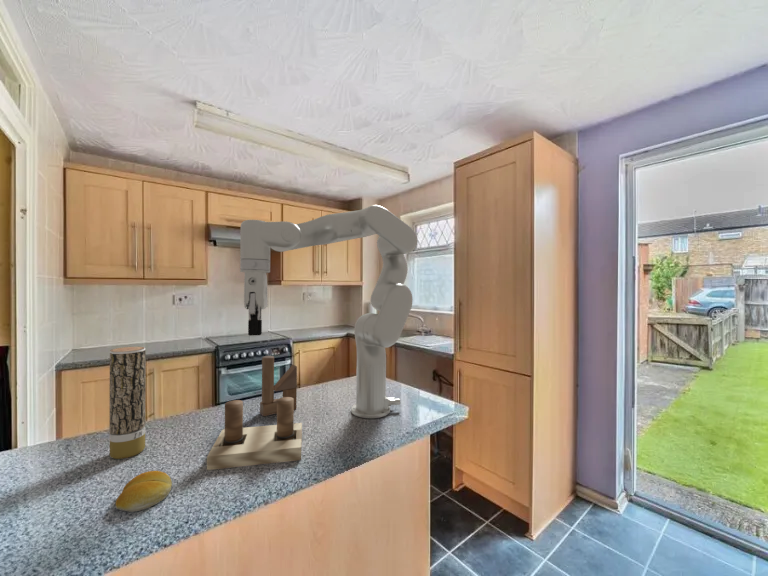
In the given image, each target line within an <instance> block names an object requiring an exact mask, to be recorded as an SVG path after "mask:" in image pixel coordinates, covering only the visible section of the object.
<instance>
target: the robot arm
mask: <svg viewBox="0 0 768 576" xmlns="http://www.w3.org/2000/svg"><path fill="white" fill-rule="evenodd" d="M375 235H377V237H378V238H377V242H376V244H377V249H378V252H379V253H380V255H381V258H382V268H381V272H380V273H379V276H378V279H377V281H376V284H375V286H374V288H373V290H372V293H371V296H370V305H371V306H372V307H373V308H374V309H375V310H376V311H379V312H378V313H373V312H372V313H371V312H370V313H369V312H368V313H364V314H362V315H361V316H359V317H358V318H357V319H356V322H355V324H354V330H353V331H354V338H355V347H356V348H355V349H356V371H355V372H356V375H355V376H356V379H355V380H356V387H355V388H356V389H355V390H356V392H355V394H356V398H355V403H354V404H353V405H352V406H351V414H352V415H354V416H355V417H358V418H363V419H379V418H383V417H387V416H388V415H390V412H391V406H399V405H401V399H400V398H395V397H394V396H392V397H388V396H387V395H386V394H387V393H386V391H387V387H386V386H387V353H386V352H387V351H386V348H390V347H392V346H393V345H395V344H396V343H397V341H398V340H399V339H400V337H401V335H402V332H403V329H404V327H405V325H406V322H407V320H408V317H409V314H410V312H411V310H412V307H413V293H412V291H411V290H410V288H409V287H408V286H407V285H405V281H406V279H407V275H408V269H409V268H408V264H407V260H406V258H405V255H407V254H410V253H411V252H413V251H414V250H415V248H416V247H417V245H418V236H417V234H416V231H415V230H414V229H413V228H412V227H411V226H410V225H408V224H407V222H404V220H402V219H400V218H399V217H398V216H396V215H395V214H394V213H392V212H391V211H390V210H388V209H387V208H385V207H383V206H381V205H378V204H372V205H370V206H368V207H365V208H363V209H359V210H351V211H345V212H344V211H343V212H338V213H337V212H336V213H330V214H326V215H322V216H319V217H317V218H314V219H312V220H309V221H306V222H301V223H296V224H295V223H293V222H290V221H284V220H282V221H265V220H260V219H259V220H258V219H246V220H244V221H242V222H241V224H240V240H239V241H240V246H239V247H240V251H239V252H240V253H239V255H240V256H239V257H240V259H239V260H240V261H239V263H240V267H239V268H240V271H239V272H240V273H244V279H243V283H244V284H243V304H244V306H243V307H244V309H246V310H248V320H247V321H248V322H247V325H248V327H247V330H248V331H247V332H248V336H261V335H262V334H263V320H262V312H263V311H262V310H264V309H266V308H267V307H268V306H269V304H268V302H269V301H268V277H267V273H268V274H269V273H271V249H272V250H274V251H275V252H280V253H281V252H287V251H293V250H298V249H304V248H308V247H315V246H323V245H329V244H334V243H338V242H345V241H350V240H357V239H361V238H367V237H370V236H375Z"/></svg>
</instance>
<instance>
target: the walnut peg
mask: <svg viewBox="0 0 768 576" xmlns="http://www.w3.org/2000/svg"><path fill="white" fill-rule="evenodd" d="M243 420H244V401H243V400H240V399H237V400H236V399H234V400H230V401H227V402H225V403H224V429H225V438H224V443H225V446H230V445H241V444H243V428H244V425H243V423H244V421H243Z"/></svg>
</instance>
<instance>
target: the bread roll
mask: <svg viewBox="0 0 768 576" xmlns="http://www.w3.org/2000/svg"><path fill="white" fill-rule="evenodd" d="M172 486H173V481H172V478H171V476H170V475H168V474H167V473H166V472H164V471H161V470H149V471H144V472H142V473H140V474H138V475H136V476H134V477H133V478H132V479H130V480H129V481H128V482H127V483H125V485H124V487H123V489H122V491H121V493H120V494H119V495H118V497H117V499H116V501H115V507H116V509H117V510H120V511H124V512H130V513H134V512H141V511H143V510H146V509H149V508H151V507H153V506H155V505H157V504H159V503H161V502H162V501H163V500H165V499H166V498H167V497H168V495H169V494H170V492H171V490H172ZM160 501H161V502H160Z"/></svg>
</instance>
